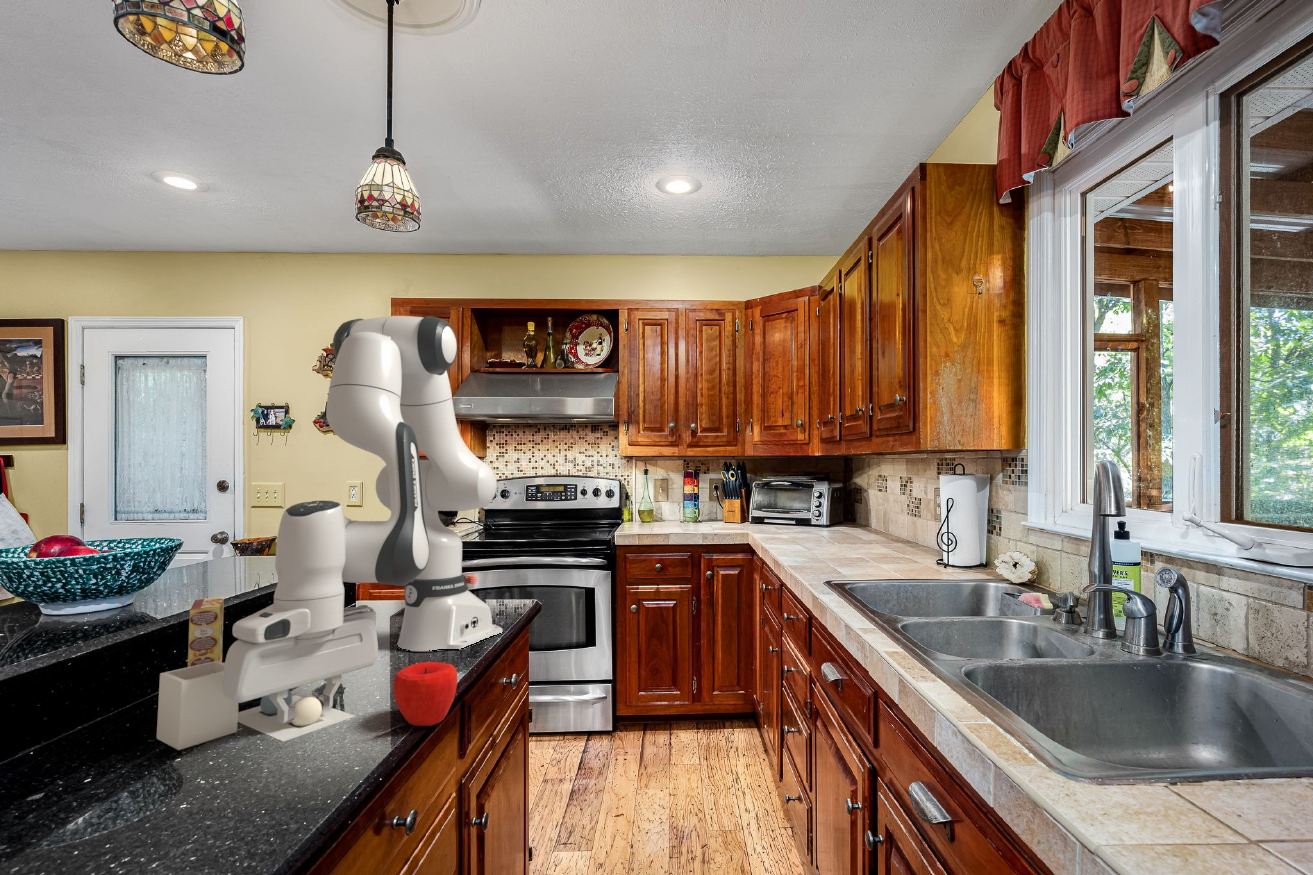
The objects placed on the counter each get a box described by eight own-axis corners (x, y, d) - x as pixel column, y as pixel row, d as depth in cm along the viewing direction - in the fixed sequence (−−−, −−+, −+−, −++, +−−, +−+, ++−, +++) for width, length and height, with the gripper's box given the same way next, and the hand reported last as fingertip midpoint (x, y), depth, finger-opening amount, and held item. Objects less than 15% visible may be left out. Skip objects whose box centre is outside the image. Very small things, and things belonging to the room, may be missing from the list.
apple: (384, 719, 88) (386, 664, 89) (445, 705, 94) (446, 653, 94) (401, 740, 81) (402, 680, 82) (465, 724, 87) (466, 668, 87)
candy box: (218, 706, 93) (223, 605, 94) (183, 712, 91) (189, 608, 92) (221, 689, 101) (225, 596, 102) (189, 694, 98) (193, 599, 99)
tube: (214, 725, 86) (217, 660, 87) (237, 735, 83) (240, 668, 83) (156, 742, 80) (160, 673, 81) (178, 754, 77) (181, 682, 78)
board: (225, 720, 88) (225, 716, 88) (296, 699, 96) (296, 695, 96) (282, 745, 79) (283, 741, 80) (355, 720, 88) (355, 715, 88)
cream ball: (311, 718, 89) (312, 690, 89) (327, 724, 86) (328, 695, 87) (283, 728, 85) (284, 698, 85) (298, 734, 83) (299, 704, 83)
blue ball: (282, 707, 93) (284, 680, 93) (296, 712, 91) (298, 685, 91) (254, 716, 89) (255, 688, 90) (268, 722, 87) (269, 693, 88)
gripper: (364, 600, 97) (361, 688, 96) (219, 627, 80) (213, 734, 79) (388, 604, 94) (385, 696, 93) (242, 633, 77) (237, 746, 76)
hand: (305, 714), depth 86 cm, fingers closed on cream ball, 4 cm apart
